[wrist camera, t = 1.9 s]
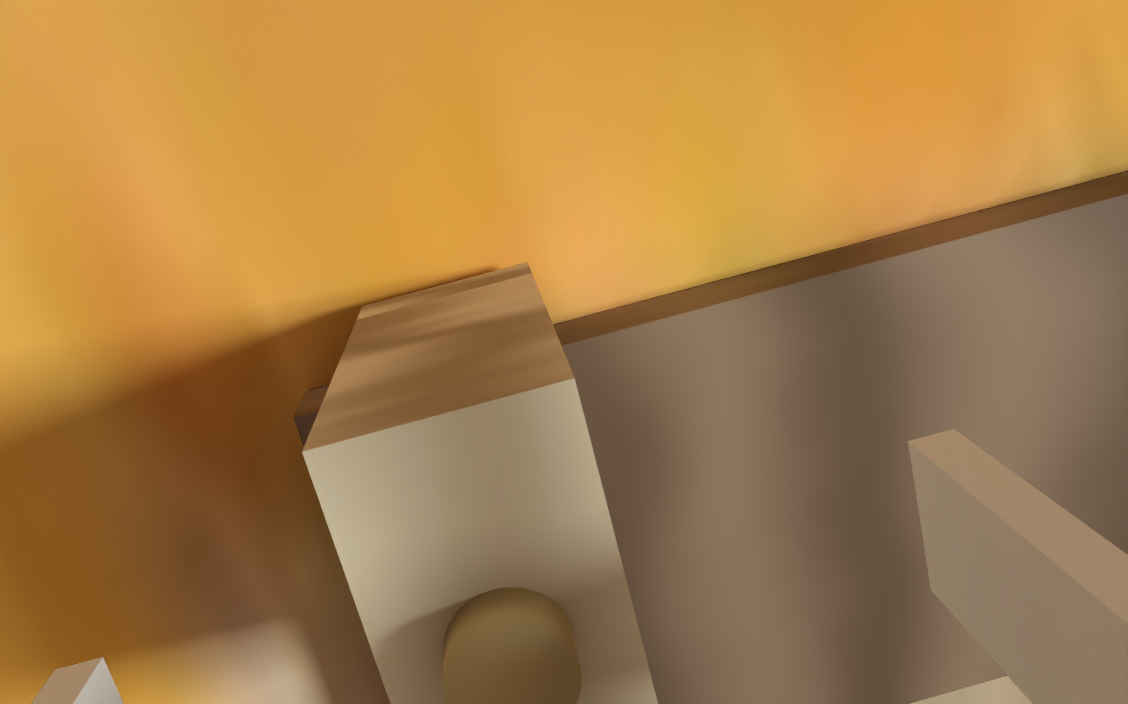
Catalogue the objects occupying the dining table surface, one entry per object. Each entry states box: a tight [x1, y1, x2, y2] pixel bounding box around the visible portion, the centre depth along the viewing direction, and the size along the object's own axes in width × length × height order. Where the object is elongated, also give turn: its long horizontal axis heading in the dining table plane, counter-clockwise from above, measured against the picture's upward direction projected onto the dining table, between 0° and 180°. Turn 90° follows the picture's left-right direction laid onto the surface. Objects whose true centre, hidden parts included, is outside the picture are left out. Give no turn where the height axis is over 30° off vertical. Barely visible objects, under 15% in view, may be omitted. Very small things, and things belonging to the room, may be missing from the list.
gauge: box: [302, 262, 658, 704], centre depth 19 cm, size 4×8×10 cm, turn 14°
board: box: [294, 171, 1128, 704], centre depth 25 cm, size 24×12×2 cm, turn 104°
